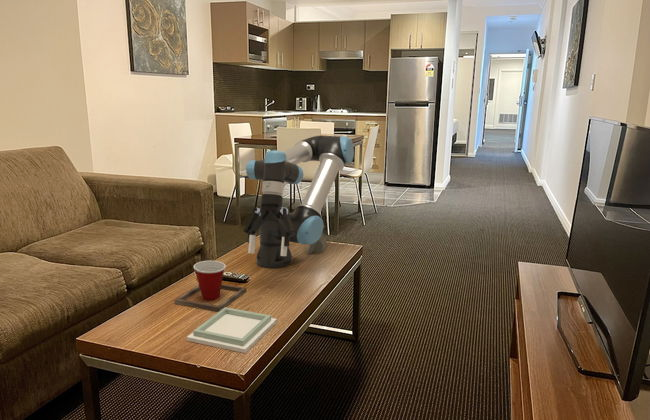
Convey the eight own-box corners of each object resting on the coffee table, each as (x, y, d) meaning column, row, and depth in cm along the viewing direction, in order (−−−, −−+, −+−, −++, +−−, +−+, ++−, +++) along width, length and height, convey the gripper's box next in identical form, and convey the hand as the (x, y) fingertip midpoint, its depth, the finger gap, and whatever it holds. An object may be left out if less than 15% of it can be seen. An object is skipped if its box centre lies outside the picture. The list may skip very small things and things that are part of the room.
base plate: (224, 312, 148) (223, 304, 147) (277, 322, 141) (276, 314, 141) (187, 340, 131) (186, 332, 130) (245, 353, 124) (245, 344, 124)
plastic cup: (219, 305, 153) (217, 271, 150) (189, 302, 155) (187, 269, 152) (232, 292, 163) (230, 260, 161) (204, 290, 166) (202, 258, 163)
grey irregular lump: (314, 243, 220) (314, 222, 217) (332, 245, 216) (332, 223, 214) (300, 253, 205) (299, 230, 203) (318, 256, 202) (318, 233, 199)
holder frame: (205, 284, 170) (205, 281, 170) (246, 291, 164) (246, 287, 164) (174, 303, 154) (174, 299, 154) (219, 312, 148) (218, 307, 148)
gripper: (237, 192, 165) (231, 251, 163) (297, 193, 154) (292, 257, 152) (249, 195, 172) (244, 252, 170) (308, 196, 160) (303, 257, 158)
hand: (267, 254), depth 161 cm, fingers open, 13 cm apart
